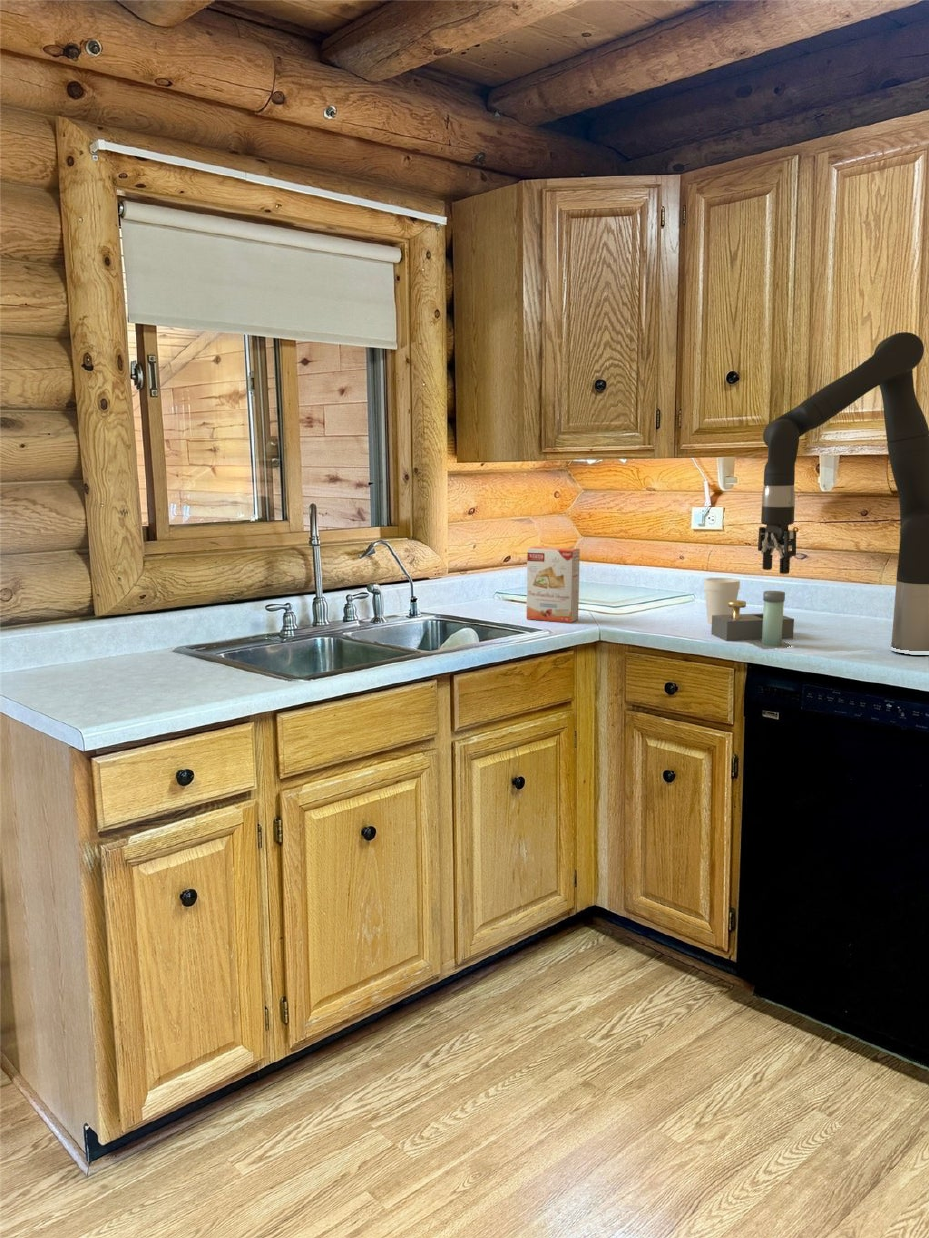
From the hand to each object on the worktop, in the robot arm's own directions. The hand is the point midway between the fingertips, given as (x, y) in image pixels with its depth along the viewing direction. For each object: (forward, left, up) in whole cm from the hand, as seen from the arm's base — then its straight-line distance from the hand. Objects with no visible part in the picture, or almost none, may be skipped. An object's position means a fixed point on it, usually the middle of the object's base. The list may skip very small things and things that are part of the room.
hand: (775, 571), depth 232 cm
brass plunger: (+4, -11, -18) cm, 22 cm away
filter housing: (0, -11, -19) cm, 22 cm away
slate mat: (0, 0, -19) cm, 19 cm away
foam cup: (0, -30, -19) cm, 35 cm away
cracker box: (+43, -48, -19) cm, 67 cm away
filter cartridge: (0, 0, -18) cm, 18 cm away
